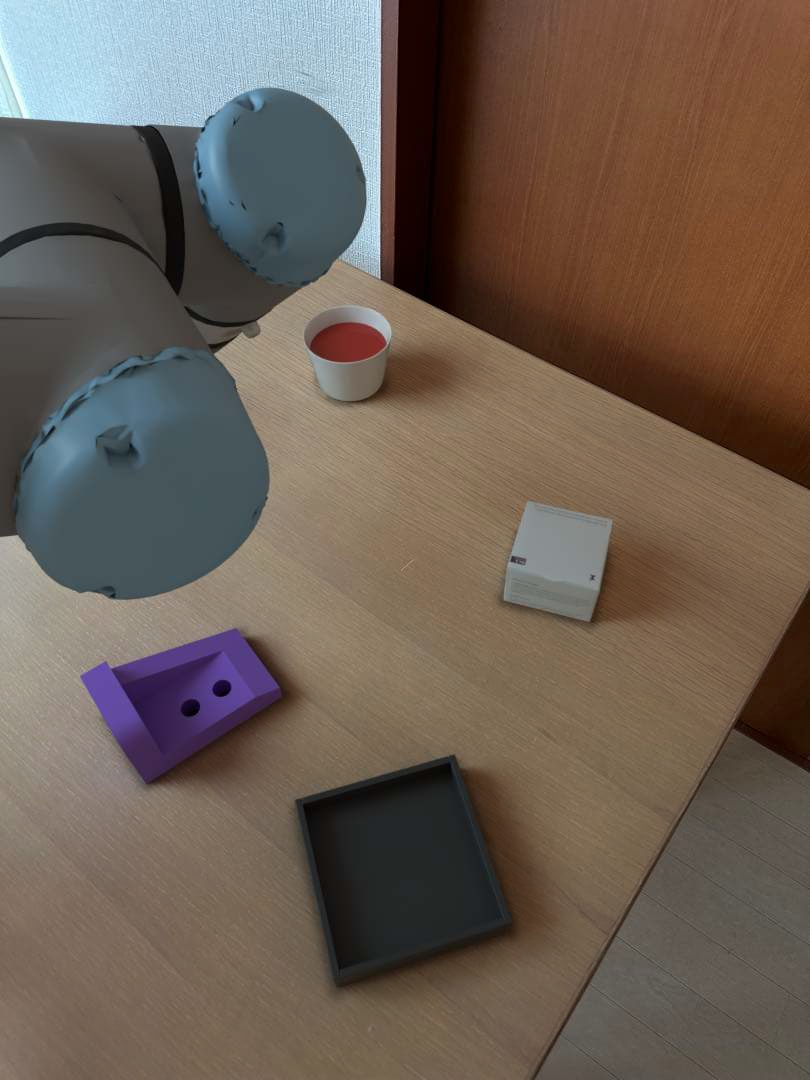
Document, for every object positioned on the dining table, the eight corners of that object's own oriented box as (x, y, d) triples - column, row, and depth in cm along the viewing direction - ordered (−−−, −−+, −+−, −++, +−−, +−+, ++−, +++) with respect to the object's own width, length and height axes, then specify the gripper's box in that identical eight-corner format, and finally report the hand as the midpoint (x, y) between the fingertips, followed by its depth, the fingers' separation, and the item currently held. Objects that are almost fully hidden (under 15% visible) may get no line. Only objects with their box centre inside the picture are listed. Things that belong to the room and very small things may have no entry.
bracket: (146, 784, 62) (120, 747, 57) (107, 716, 66) (79, 676, 60) (282, 696, 67) (270, 654, 61) (239, 637, 70) (224, 592, 65)
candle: (394, 352, 92) (393, 305, 87) (391, 410, 86) (390, 363, 81) (312, 352, 92) (307, 305, 87) (305, 409, 86) (298, 362, 81)
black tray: (336, 987, 54) (333, 980, 52) (298, 811, 61) (294, 799, 59) (509, 931, 56) (512, 922, 54) (453, 767, 63) (454, 753, 61)
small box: (605, 553, 75) (616, 518, 71) (590, 625, 70) (600, 592, 66) (520, 533, 76) (526, 497, 72) (500, 602, 72) (505, 568, 68)
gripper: (45, 455, 43) (8, 490, 61) (383, 247, 54) (266, 330, 72) (-52, 327, 41) (-59, 403, 59) (320, 138, 52) (216, 252, 70)
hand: (119, 363), depth 66 cm, fingers open, 13 cm apart
